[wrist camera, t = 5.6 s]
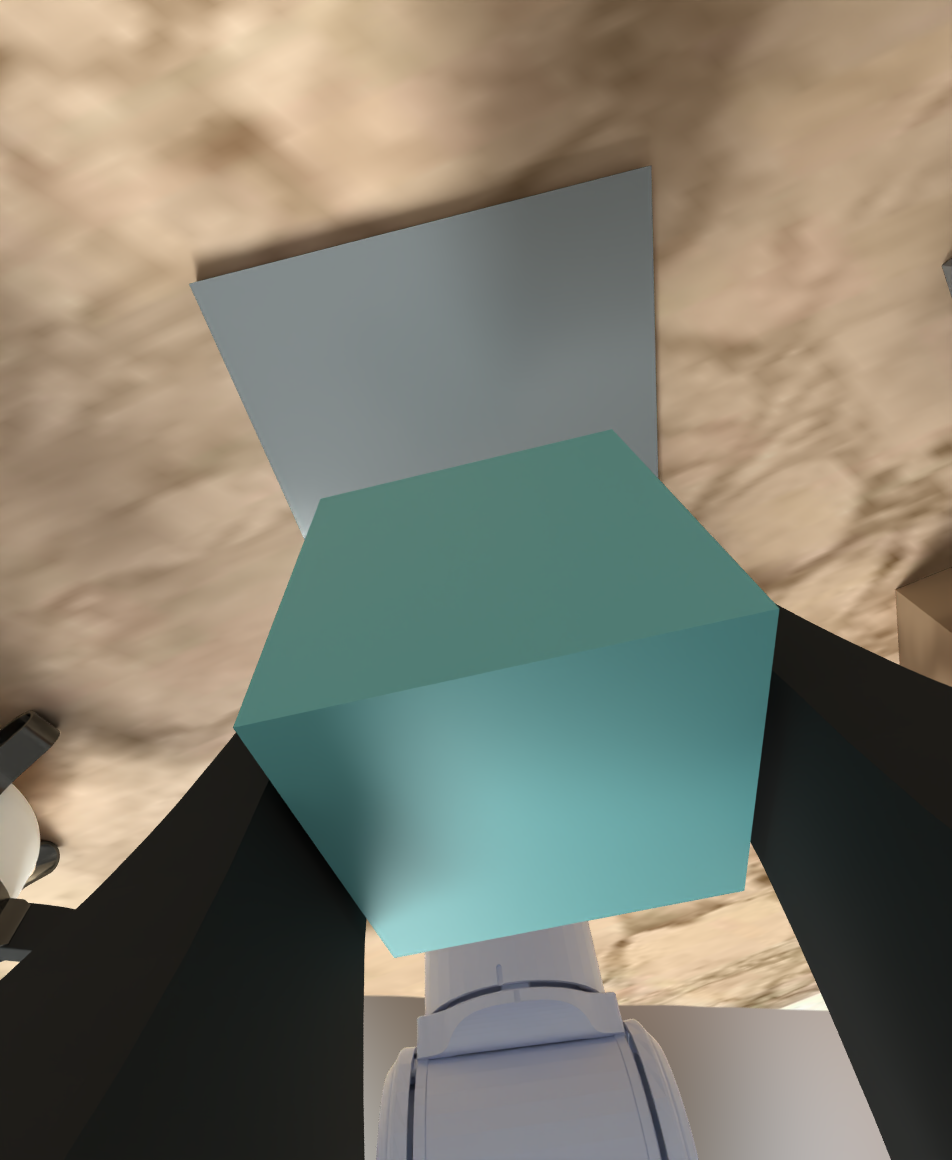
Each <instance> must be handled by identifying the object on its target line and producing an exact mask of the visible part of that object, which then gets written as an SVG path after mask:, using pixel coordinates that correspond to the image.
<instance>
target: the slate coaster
mask: <svg viewBox="0 0 952 1160" xmlns="http://www.w3.org/2000/svg"><path fill="white" fill-rule="evenodd" d="M189 285H190V287H191V289H192V291H193V294H194V296H195V298H196V300H197V303H198V305H199V307H200V309H201V311H202V314H203V316H204V318H205V320H206V322H207V325H208V327H209V329H210V331H211V334H212V336H213V338H214V340H215V342H216V345H217V347H218V349H219V351H220V354H221V356H222V358H223V360H224V362H225V365H226V367H227V369H228V371H229V373H230V376H231V378H232V380H233V382H234V385H235V387H236V389H237V391H238V393H239V396H240V398H241V400H242V402H243V405H244V407H245V409H246V411H247V413H248V416H249V418H250V420H251V422H252V424H253V427H254V429H255V431H256V433H257V436H258V438H259V440H260V442H261V444H262V447H263V449H264V451H265V453H266V456H267V458H268V460H269V462H270V464H271V467H272V469H273V471H274V473H275V475H276V478H277V480H278V482H279V484H280V487H281V489H282V491H283V493H284V495H285V498H286V500H287V502H288V504H289V507H290V509H291V511H292V513H293V515H294V518H295V520H296V522H297V524H298V526H299V529H300V531H301V533H302V535H303V538H304V540H305V538H306V535H307V533H308V530H309V527H310V525H311V522H312V520H313V517H314V514H315V512H316V509H317V507H318V504H319V501H320V499H322V498H326V497H330V496H334V495H338V494H343V493H347V492H351V491H355V490H359V489H364V488H368V487H372V486H376V485H380V484H384V483H389V482H393V481H397V480H401V479H405V478H410V477H414V476H418V475H422V474H426V473H431V472H435V471H439V470H443V469H447V468H451V467H456V466H460V465H464V464H468V463H472V462H477V461H481V460H485V459H489V458H493V457H497V456H502V455H506V454H510V453H514V452H518V451H523V450H527V449H531V448H535V447H539V446H544V445H548V444H552V443H556V442H560V441H564V440H569V439H573V438H577V437H581V436H585V435H590V434H594V433H598V432H602V431H606V430H611V429H612V430H613V431H614V432H615V433H616V434H617V435H618V436H619V437H620V438H621V439H622V440H623V441H624V442H625V444H626V445H627V446H628V447H629V448H630V449H631V450H632V451H633V452H634V453H635V454H636V455H637V456H638V457H639V459H640V460H641V461H642V462H643V463H644V464H645V465H646V466H647V467H648V468H649V469H650V470H651V471H652V473H653V474H654V475H655V476H656V477H657V478H658V451H657V405H656V359H655V313H654V267H653V221H652V175H651V166H647V167H643V168H639V169H635V170H631V171H627V172H623V173H619V174H616V175H612V176H608V177H604V178H600V179H596V180H592V181H588V182H584V183H580V184H576V185H573V186H569V187H565V188H561V189H557V190H553V191H549V192H545V193H541V194H537V195H534V196H530V197H526V198H522V199H518V200H514V201H510V202H506V203H502V204H498V205H495V206H491V207H487V208H483V209H479V210H475V211H471V212H467V213H463V214H459V215H455V216H452V217H448V218H444V219H440V220H436V221H432V222H428V223H424V224H420V225H416V226H413V227H409V228H405V229H401V230H397V231H393V232H389V233H385V234H381V235H377V236H373V237H370V238H366V239H362V240H358V241H354V242H350V243H346V244H342V245H338V246H334V247H331V248H327V249H323V250H319V251H315V252H311V253H307V254H303V255H299V256H295V257H291V258H288V259H284V260H280V261H276V262H272V263H268V264H264V265H260V266H256V267H252V268H249V269H245V270H241V271H237V272H233V273H229V274H225V275H221V276H217V277H213V278H209V279H206V280H202V281H198V282H194V283H190V284H189Z"/></svg>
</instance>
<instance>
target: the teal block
mask: <svg viewBox="0 0 952 1160" xmlns="http://www.w3.org/2000/svg"><path fill="white" fill-rule="evenodd" d="M778 616H779V608H778V606H777V605H776V604H775V603H774V602H773V601H772V600H771V599H770V598H769V597H768V596H767V595H766V594H765V593H764V591H763V590H762V589H761V588H760V587H759V586H758V585H757V584H756V583H755V582H754V581H753V580H752V579H751V578H750V576H749V575H748V574H747V573H746V572H745V571H744V570H743V569H742V568H741V567H740V566H739V565H738V564H737V563H736V561H735V560H734V559H733V558H732V557H731V556H730V555H729V554H728V553H727V552H726V551H725V550H724V549H723V548H722V546H721V545H720V544H719V543H718V542H717V541H716V540H715V539H714V538H713V537H712V536H711V535H710V534H709V533H708V531H707V530H706V529H705V528H704V527H703V526H702V525H701V524H700V523H699V522H698V521H697V520H696V519H695V518H694V516H693V515H692V514H691V513H690V512H689V511H688V510H687V509H686V508H685V507H684V506H683V505H682V504H681V503H680V501H679V500H678V499H677V498H676V497H675V496H674V495H673V494H672V493H671V492H670V491H669V490H668V489H667V488H666V486H665V485H664V484H663V483H662V482H661V481H660V480H659V479H658V478H657V477H656V476H655V475H654V474H653V473H652V471H651V470H650V469H649V468H648V467H647V466H646V465H645V464H644V463H643V462H642V461H641V460H640V459H639V457H638V456H637V455H636V454H635V453H634V452H633V451H632V450H631V449H630V448H629V447H628V446H627V445H626V444H625V442H624V441H623V440H622V439H621V438H620V437H619V436H618V435H617V434H616V433H615V432H614V431H613V430H612V429H611V430H606V431H602V432H598V433H594V434H590V435H585V436H581V437H577V438H573V439H569V440H564V441H560V442H556V443H552V444H548V445H544V446H539V447H535V448H531V449H527V450H523V451H518V452H514V453H510V454H506V455H502V456H497V457H493V458H489V459H485V460H481V461H477V462H472V463H468V464H464V465H460V466H456V467H451V468H447V469H443V470H439V471H435V472H431V473H426V474H422V475H418V476H414V477H410V478H405V479H401V480H397V481H393V482H389V483H384V484H380V485H376V486H372V487H368V488H364V489H359V490H355V491H351V492H347V493H343V494H338V495H334V496H330V497H326V498H322V499H320V501H319V504H318V507H317V509H316V512H315V514H314V517H313V520H312V522H311V525H310V527H309V530H308V533H307V535H306V538H305V541H304V543H303V546H302V548H301V551H300V554H299V556H298V559H297V562H296V564H295V567H294V569H293V572H292V575H291V577H290V580H289V583H288V585H287V588H286V590H285V593H284V596H283V598H282V601H281V603H280V606H279V609H278V611H277V614H276V617H275V619H274V622H273V624H272V627H271V630H270V632H269V635H268V638H267V640H266V643H265V645H264V648H263V651H262V653H261V656H260V658H259V661H258V664H257V666H256V669H255V672H254V674H253V677H252V679H251V682H250V685H249V687H248V690H247V693H246V695H245V698H244V700H243V703H242V706H241V708H240V711H239V714H238V716H237V719H236V721H235V724H234V727H233V728H234V730H235V731H236V733H237V734H238V735H239V737H240V738H241V740H242V741H243V743H244V744H245V745H246V747H247V748H248V750H249V751H250V753H251V754H252V755H253V757H254V758H255V760H256V761H257V763H258V764H259V765H260V767H261V768H262V770H263V771H264V773H265V774H266V775H267V777H268V778H269V780H270V781H271V783H272V784H273V785H274V787H275V788H276V790H277V791H278V793H279V794H280V795H281V797H282V798H283V800H284V801H285V803H286V804H287V805H288V807H289V808H290V810H291V811H292V813H293V814H294V815H295V817H296V818H297V820H298V821H299V823H300V824H301V825H302V827H303V828H304V830H305V831H306V833H307V834H308V835H309V837H310V838H311V840H312V841H313V843H314V844H315V845H316V847H317V848H318V850H319V851H320V853H321V854H322V855H323V857H324V858H325V860H326V861H327V863H328V864H329V865H330V867H331V868H332V870H333V871H334V873H335V874H336V875H337V877H338V878H339V880H340V881H341V883H342V884H343V885H344V887H345V888H346V890H347V891H348V893H349V894H350V895H351V897H352V898H353V900H354V901H355V903H356V904H357V905H358V907H359V908H360V910H361V911H362V913H363V914H364V915H365V917H366V918H367V920H368V921H369V923H370V924H371V925H372V927H373V928H374V930H375V931H376V933H377V934H378V935H379V937H380V938H381V940H382V941H383V943H384V944H385V945H386V947H387V948H388V950H389V951H390V953H391V954H392V955H393V957H394V958H397V957H402V956H407V955H412V954H417V953H423V952H428V951H433V950H438V949H443V948H449V947H454V946H459V945H464V944H469V943H475V942H480V941H485V940H490V939H495V938H501V937H506V936H511V935H516V934H521V933H527V932H532V931H537V930H542V929H547V928H553V927H558V926H563V925H568V924H573V923H579V922H584V921H589V920H594V919H599V918H605V917H610V916H615V915H620V914H625V913H631V912H636V911H641V910H646V909H651V908H657V907H662V906H667V905H672V904H677V903H683V902H688V901H693V900H698V899H703V898H709V897H714V896H719V895H724V894H729V893H735V892H740V891H744V888H745V880H746V872H747V864H748V856H749V848H750V840H751V832H752V824H753V816H754V808H755V800H756V792H757V784H758V776H759V768H760V760H761V752H762V744H763V736H764V728H765V720H766V712H767V704H768V696H769V688H770V680H771V672H772V664H773V656H774V648H775V640H776V632H777V624H778Z"/></svg>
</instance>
